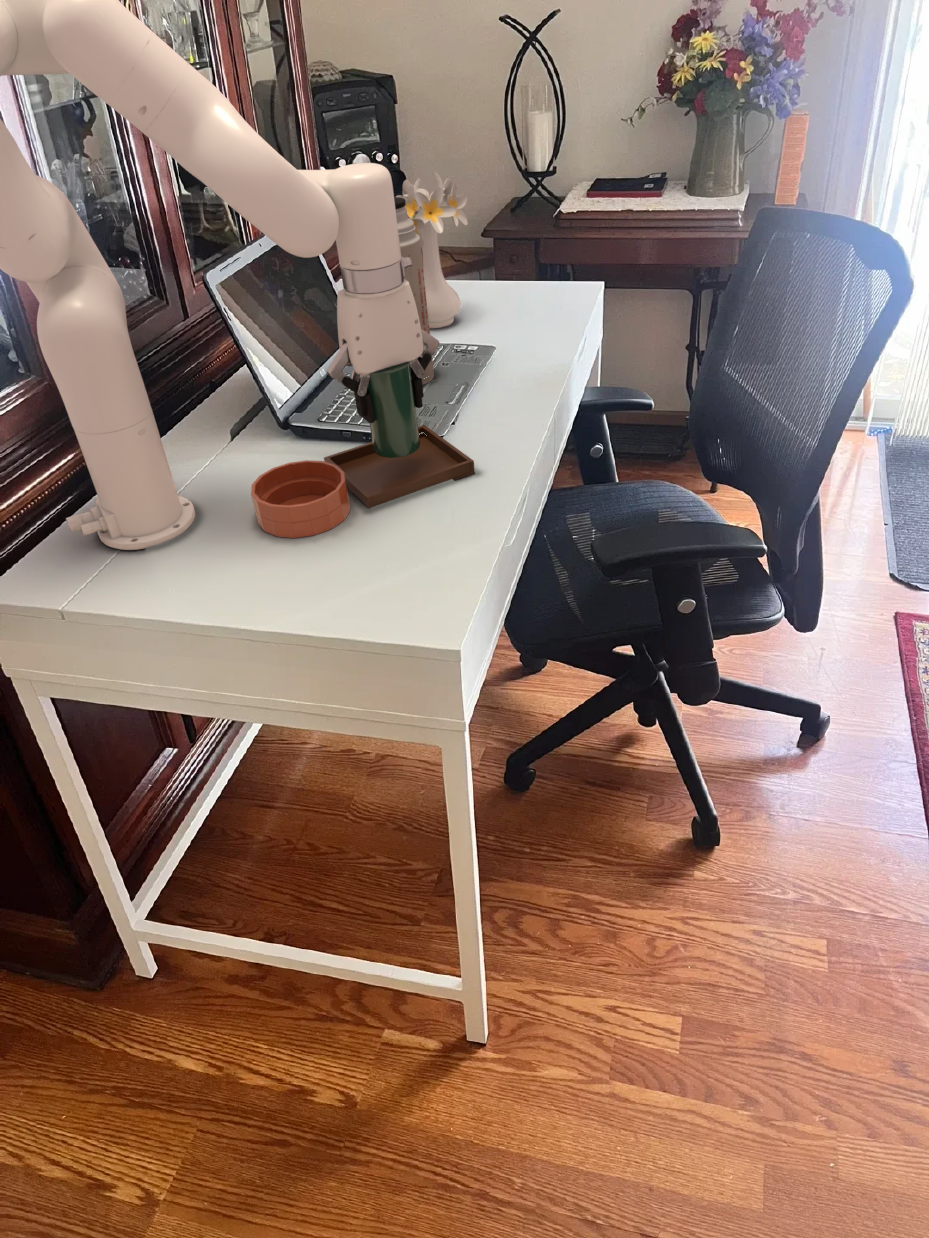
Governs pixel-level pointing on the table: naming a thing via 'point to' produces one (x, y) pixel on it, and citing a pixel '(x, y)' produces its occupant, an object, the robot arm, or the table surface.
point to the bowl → (300, 498)
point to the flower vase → (435, 243)
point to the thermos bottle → (414, 270)
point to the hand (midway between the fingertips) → (391, 410)
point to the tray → (401, 469)
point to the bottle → (393, 412)
